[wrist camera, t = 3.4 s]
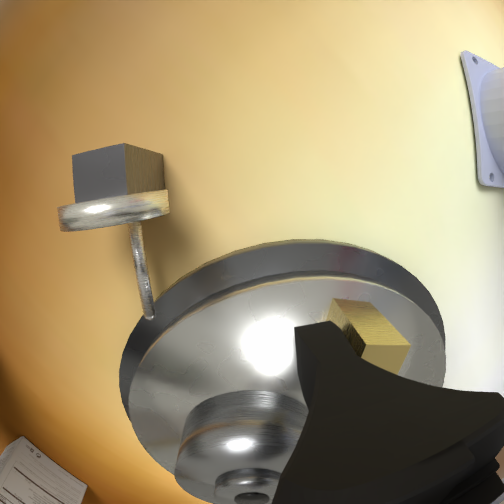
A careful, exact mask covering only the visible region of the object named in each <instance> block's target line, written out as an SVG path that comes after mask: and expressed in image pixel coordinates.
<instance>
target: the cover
mask: <svg viewBox="0 0 504 504" xmlns="http://www.w3.org/2000/svg"><path fill="white" fill-rule="evenodd" d="M308 412H309V410H308V408H307V407H306V406H305V405H304V404H302V403H300V402H299V401H297V400H295V399H293V398H291V397H288V396H285V395H282V394H278V393H273V392H266V391H237V392H230V393H224V394H221V395H217V396H214V397H212V398H209V399H207V400H205V401H203V402H201V403H200V404H198V405H197V406H195V407H194V408H193V409H192V410H191V411H190V413H189V414H188V416H187V418H186V420H185V424H184V428H183V433H182V438H181V442H180V447H179V452H178V457H177V461H176V466H175V472H174V475H175V479H176V481H177V483H178V484H179V485H180V486H181V487H182V488H183V489H184V490H185V491H186V492H188V493H189V494H191V495H193V496H194V497H197V498H199V499H201V500H204V501H206V502H209V503H213V504H271V503H272V500H273V497H274V494H275V492H276V489H277V485H278V482H279V478H280V475H281V473H282V471H283V470H284V468H285V466H286V464H287V462H288V460H289V458H290V457H291V455H292V453H293V451H294V449H295V447H296V444H297V442H298V440H299V437H300V434H301V432H302V429H303V427H304V424H305V421H306V418H307V415H308Z"/></svg>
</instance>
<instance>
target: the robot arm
mask: <svg viewBox="0 0 504 504" xmlns="http://www.w3.org/2000/svg"><path fill="white" fill-rule="evenodd" d="M460 55H461V60H462V64H463V68H464V72H465V76H466V81H467V85H468V90H469V96H470V101H471V107H472V114H473V121H474V129H475V139H476V151H477V169H478V180H479V182H480V184H481V185H484V186H492V187H500V188H504V67H503V68H499V67H497V66H495V65H494V64H492V63H490V62H488V61H486V60H484V59H483V58H481V57H479V56H477V55H475V54H473V53H471V52H468V51H463V52H461V54H460ZM489 176H490V178H489ZM294 333H295V345H296V358H297V372H298V377H299V381H300V386H301V390H302V394H303V397H304V400H305V403H306V405H307V408H308V410H309V412H308V415H307V418H306V421H305V424H304V427H303V429H302V432H301V434H300V437H299V440H298V442H297V444H296V447H295V449H294V451H293V453H292V455H291V457H290V458H289V460H288V462H287V464H286V466H285V468H284V470H283V471H282V473H281V475H280V478H279V482H278V485H277V489H276V492H275V494H274V497H273V500H272V503H271V504H499V503H501V502H502V501H503V500H504V478H503V479H502V480H501V479H500V477H499V476H498V475H497V473H496V471H497V470H498V469H499V466H500V465H499V463H498V462H497V461H496V459H495V457H496V456H497V454H498V453H499V451H500V450H501V448H502V447H503V446H504V398H503V397H502V396H501V395H500V394H499V393H498V392H472V391H460V390H454V389H447V388H442V387H437V386H432V385H428V384H424V383H421V382H417V381H414V380H411V379H407V378H405V377H402V376H399V375H396V374H394V373H391V372H389V371H387V370H384V369H382V368H380V367H378V366H376V365H374V364H372V363H370V362H368V361H366V360H364V359H362V358H361V357H359V356H357V355H356V353H355V351H354V350H353V348H352V346H351V345H350V343H349V341H348V340H347V338H346V337H345V335H344V334H343V332H342V330H341V329H340V328H339V327H338V326H337V325H336V324H335V323H333V322H332V321H330V320H329V321H324V322H319V323H314V324H309V325H303V326H297V327H294Z"/></svg>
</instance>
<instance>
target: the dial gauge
mask: <svg viewBox="0 0 504 504" xmlns="http://www.w3.org/2000/svg"><path fill="white" fill-rule="evenodd" d="M72 163H73V180H74V193H75V203H74V204H69V205H64V206H59V207H57V209H58V217H59V224H60V231H64V232H69V231H81V230H89V229H96V228H103V227H109V226H115V225H121V224H126V223H128V228H129V236H130V243H131V249H132V256H133V262H134V268H135V273H136V279H137V284H138V289H139V294H140V299H141V304H142V308H143V313H144V317H145V318H146V319H147V320H153V319H154V318H155V317H156V311H155V306H154V301H153V296H152V291H151V286H150V280H149V274H148V268H147V262H146V256H145V249H144V242H143V234H142V227H141V220H146V219H151V218H155V217H159V216H162V215H165V214H168V213H169V212H170V210H169V199H168V189H167V190H165V184H164V171H163V155H162V154H160V153H156V152H153V151H150V150H146V149H143V148H139V147H136V146H132V145H129V144H125V143H123V144H118V145H113V146H109V147H104V148H100V149H96V150H91V151H87V152H83V153H79V154H76V155H72Z"/></svg>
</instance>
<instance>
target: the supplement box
mask: <svg viewBox="0 0 504 504" xmlns="http://www.w3.org/2000/svg"><path fill="white" fill-rule="evenodd" d="M86 489H87V485H86V484H84V483H83V482H81V481H80V480H78V479H77V478H75V477H74V476H73V475H71V474H70V473H68V472H67V471H66V470H64V469H63V468H61V467H60V466H59V465H57V464H56V463H55V462H54V461H52V460H51V459H50V458H48V457H47V456H46V455H45V454H44V453H42V452H41V451H40V450H39V449H38V448H36V447H35V446H34V445H33V444H32V443H31V442H30V441H28V440H27V439H26V438H25V437H24V436H22V437H20V438H19V439H17V440H15V441H14V442H12V443H11V444H9V445H8V446H7V447H6V448H5V450H4V452H3V453H2V455H1V456H0V504H81V502H82V500H83V497H84V494H85V491H86Z"/></svg>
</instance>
